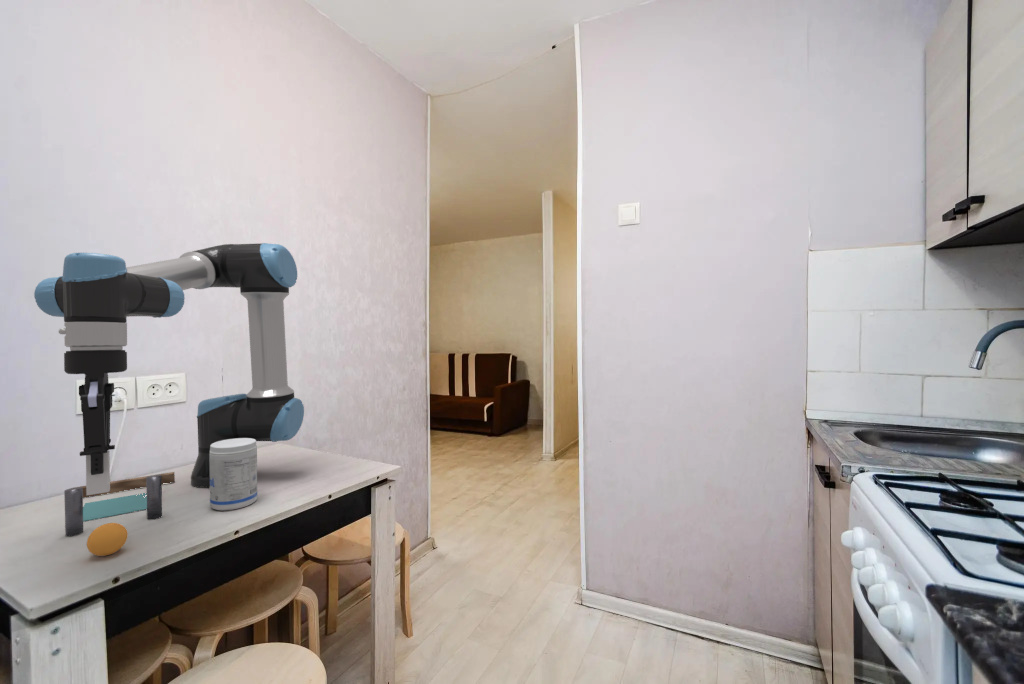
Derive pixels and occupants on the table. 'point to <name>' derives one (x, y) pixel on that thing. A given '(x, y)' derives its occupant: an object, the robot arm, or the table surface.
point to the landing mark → (114, 506)
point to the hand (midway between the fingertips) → (98, 492)
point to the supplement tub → (233, 473)
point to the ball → (107, 539)
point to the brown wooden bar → (132, 483)
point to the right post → (154, 496)
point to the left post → (73, 511)
